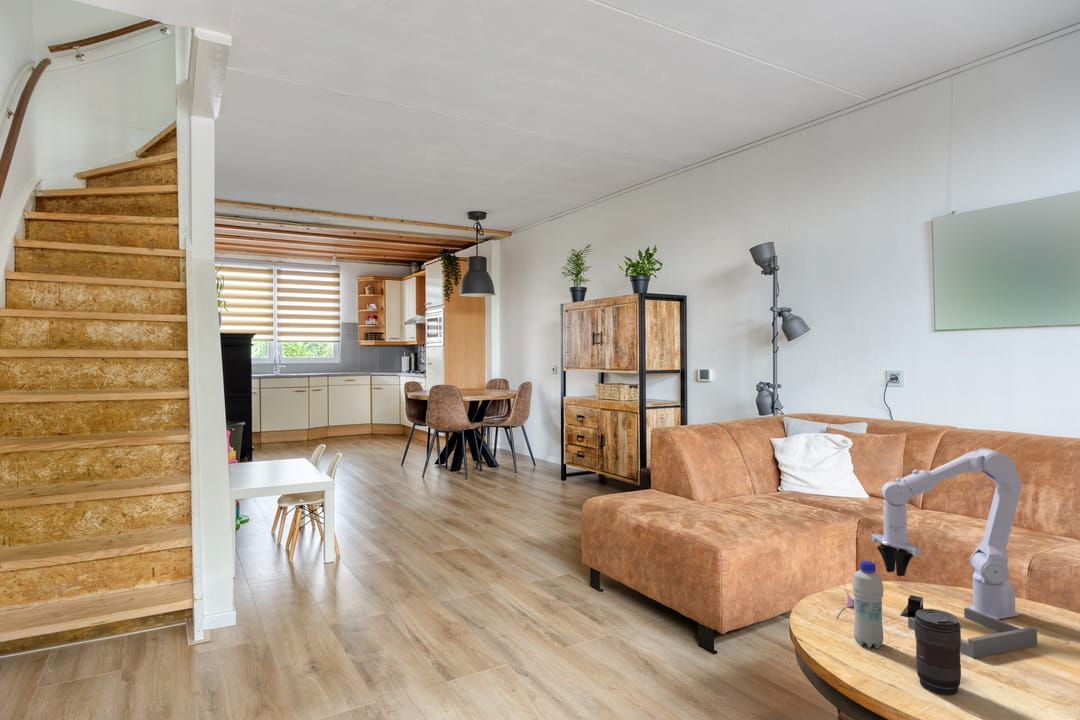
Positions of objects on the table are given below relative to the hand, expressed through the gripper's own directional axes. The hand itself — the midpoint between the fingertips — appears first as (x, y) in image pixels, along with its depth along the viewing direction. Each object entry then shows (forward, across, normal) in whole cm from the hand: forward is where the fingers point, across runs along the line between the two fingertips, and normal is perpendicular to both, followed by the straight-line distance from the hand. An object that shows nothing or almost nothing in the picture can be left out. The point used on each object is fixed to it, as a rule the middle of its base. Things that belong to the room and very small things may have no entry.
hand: (895, 573), depth 171 cm
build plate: (+9, +6, 0) cm, 11 cm away
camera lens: (+9, +37, -29) cm, 48 cm away
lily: (+9, +5, -20) cm, 22 cm away
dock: (+8, +21, 0) cm, 23 cm away
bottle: (+9, +17, -27) cm, 33 cm away
